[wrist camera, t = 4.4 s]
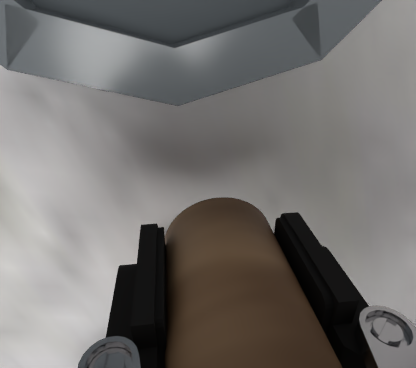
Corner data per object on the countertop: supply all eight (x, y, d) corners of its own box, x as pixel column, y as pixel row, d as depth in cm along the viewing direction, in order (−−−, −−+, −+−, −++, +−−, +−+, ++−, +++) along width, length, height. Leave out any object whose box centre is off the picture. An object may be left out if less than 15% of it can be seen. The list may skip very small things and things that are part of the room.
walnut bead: (291, 237, 12) (393, 412, 7) (217, 297, 13) (255, 489, 8) (218, 175, 10) (278, 343, 5) (140, 250, 11) (121, 455, 6)
